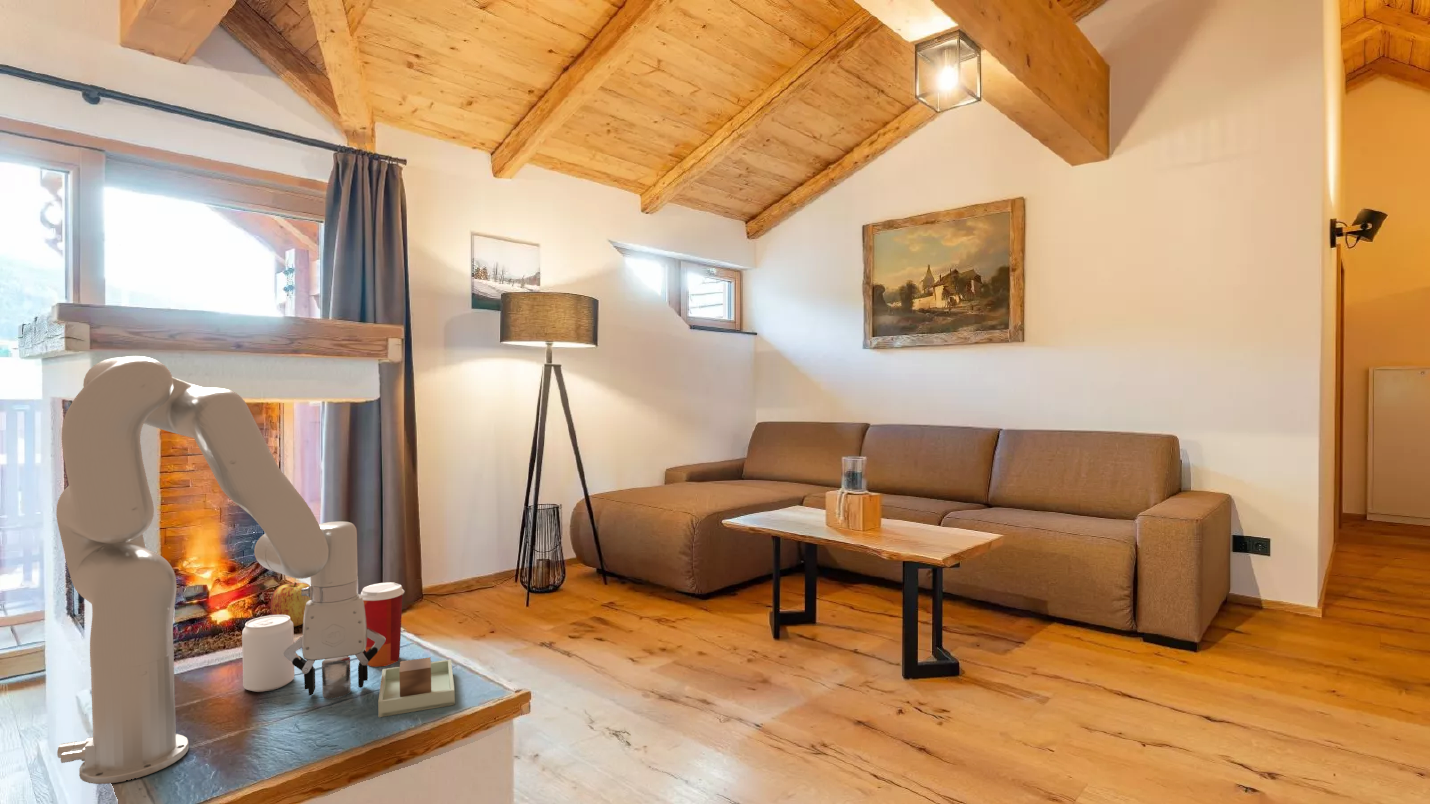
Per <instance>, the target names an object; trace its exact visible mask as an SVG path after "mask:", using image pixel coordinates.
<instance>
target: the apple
mask: <svg viewBox="0 0 1430 804" xmlns="http://www.w3.org/2000/svg"><path fill="white" fill-rule="evenodd" d="M309 585H310V584H309V583H306V582H292V583H286V584H282V585H280V586H278V587H277V588H276V589H275V590H274V591H273V593H272V595H271V599H270V610H271V615H288V616H290V620H291V621H292V622H293V627H294V628H295V627H299V626H301V625H302V626H303V619H304V612H305V606H306V603H307V602H308V601H309V600H310V598H309V596H302V595H301V590H302V588H307V587H309Z"/></svg>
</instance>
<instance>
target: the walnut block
mask: <svg viewBox="0 0 1430 804" xmlns="http://www.w3.org/2000/svg"><path fill="white" fill-rule="evenodd" d="M431 659H432V658H431V656H430V657H425V658H424V657H422V658H415V659H408V660H402V661H400V662H399V667H400V671H399V675H400V697H405V696H411V695H418V694H424V693H430V692H431V662H432V661H431Z"/></svg>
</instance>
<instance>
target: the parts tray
mask: <svg viewBox="0 0 1430 804" xmlns="http://www.w3.org/2000/svg"><path fill="white" fill-rule="evenodd" d="M381 670H382V671H381V678H380V686H379V692H378V693H379V694H378V701H377V703H378V704H377V705H378V707H377V708H378V710H377V711H378V714H377V715H378V718H383V717H389V716H396V715H402V714H407V713H414V712H419V711H425V710H432V709H438V708H443V707H445V708H446V707H449V706H455V703H456V699H455V683H454V682H455V681H454V676H453V675H454V674H453V665H452V659H451V658H450V659H444V660H437V661H431V692H430V693H424V694H418V695H411V696H405V697H400V675H399V671H400V666H395V667H388V668H382V669H381Z"/></svg>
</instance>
